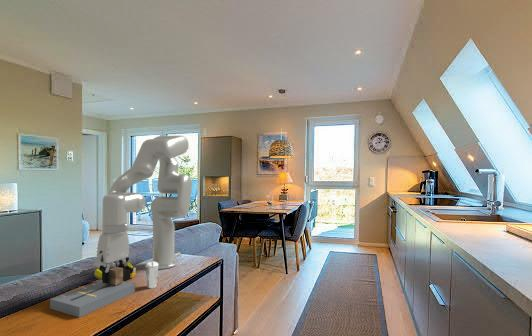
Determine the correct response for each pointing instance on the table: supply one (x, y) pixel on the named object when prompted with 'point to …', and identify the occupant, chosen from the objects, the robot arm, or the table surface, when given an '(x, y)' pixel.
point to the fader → (116, 275)
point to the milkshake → (151, 274)
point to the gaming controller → (129, 272)
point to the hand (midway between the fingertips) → (113, 279)
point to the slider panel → (90, 298)
